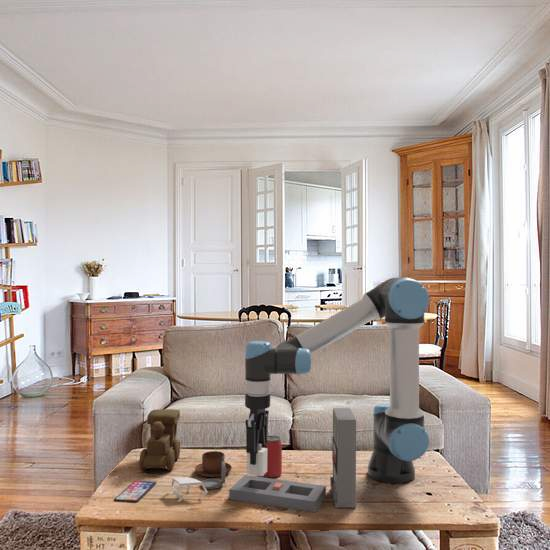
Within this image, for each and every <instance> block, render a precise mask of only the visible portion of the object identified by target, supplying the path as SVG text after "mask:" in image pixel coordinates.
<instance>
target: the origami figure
mask: <svg viewBox="0 0 550 550" xmlns="http://www.w3.org/2000/svg"><path fill="white" fill-rule="evenodd" d="M171 480H172V481H171V488H172V490H173V494H174V496H177V497H178V498H179V499H178V500H177V501H176V502H181V501H182V500H183V499H184V497H185V496H183V495H181V494H180V492H181V490H183V487H184V486H185V487H186V486H187V487H186V493H187V494H189V493H190V487H191V486H201V485H202V486H203V487H202V486H201V487H202V488H203V489H204V492H203V493H202V494H201V495H200V500H199V501H203V497H204V496H205V495H206V494H208V490H207V488H205V486H204V484H203V483H202V481H200V480H199V479H195V478H193V477H192V478H191V477H187V476H185V477H181V476H179V477H172V478H171ZM174 483H177V484H178V486H179V487H178V488H177V490H176V489H175V487H174Z"/></svg>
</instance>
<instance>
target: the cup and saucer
mask: <svg viewBox="0 0 550 550" xmlns="http://www.w3.org/2000/svg"><path fill="white" fill-rule="evenodd" d="M224 453H225V452H222V451H219V450H217V451H215V450H214V451H206V452H204V453H203V454H202V455H201V456H202V457H201V458H202V459H201V460H202V461H201V463H199V464H197V465H196V466H195V468H194V469H195V472H196V473H197V474H198V475H199V476H202V477H208V478H217V477H221V462H222V456H223V454H224ZM225 455H226V454H225ZM225 455H224V459H225ZM231 471H232V465H231V464H230V463H227V462H225V475H227V474H229V473H230V472H231Z"/></svg>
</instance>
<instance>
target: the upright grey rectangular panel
mask: <svg viewBox="0 0 550 550" xmlns="http://www.w3.org/2000/svg"><path fill="white" fill-rule="evenodd" d="M352 411H353V410H352V409H351V408H350V407H333V408H332V436H331V437H332V443H331V444H332V447H331V448H332V449H331V450H332V453H331V454H332V455H331V456H332V476H331V474H330V475H329V477H330V478H329V479H330V482H329V483H330V484H329V486H330V492H331V495H332V499H333V503H334V507H335V508H336V509H339V508H352V509H356V508H357V501H356V500H357V497H356V496H357V490H356V489H357V478H356V477H357V419H356V417H355V415H354V413H353V412H352Z"/></svg>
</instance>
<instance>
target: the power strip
mask: <svg viewBox="0 0 550 550" xmlns="http://www.w3.org/2000/svg"><path fill="white" fill-rule="evenodd" d="M228 492H229V493H228V497H229V498H228V499H229V500H231V501H237V502H244V503H251V504H257V505H262V506H263V505H264V506H269V507H270V506H271V507H277V508H284V509H290V510H297V511H304V512H311V513H316V512H317V511H318V509H319V507H320V506H321V504H322V503H323V501H324V500H325V499H326V496H327V485H321V484H314V483H309V482H308V483H307V482H299V481H293V480H285V479H277V478H272V477H264V476H257V475H249V474H245V475H243V476H242V477H241V478H240V479H239V480H238V481H236V482H235V483H234V484H233V485H232V486H230V488H229V490H228Z"/></svg>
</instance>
